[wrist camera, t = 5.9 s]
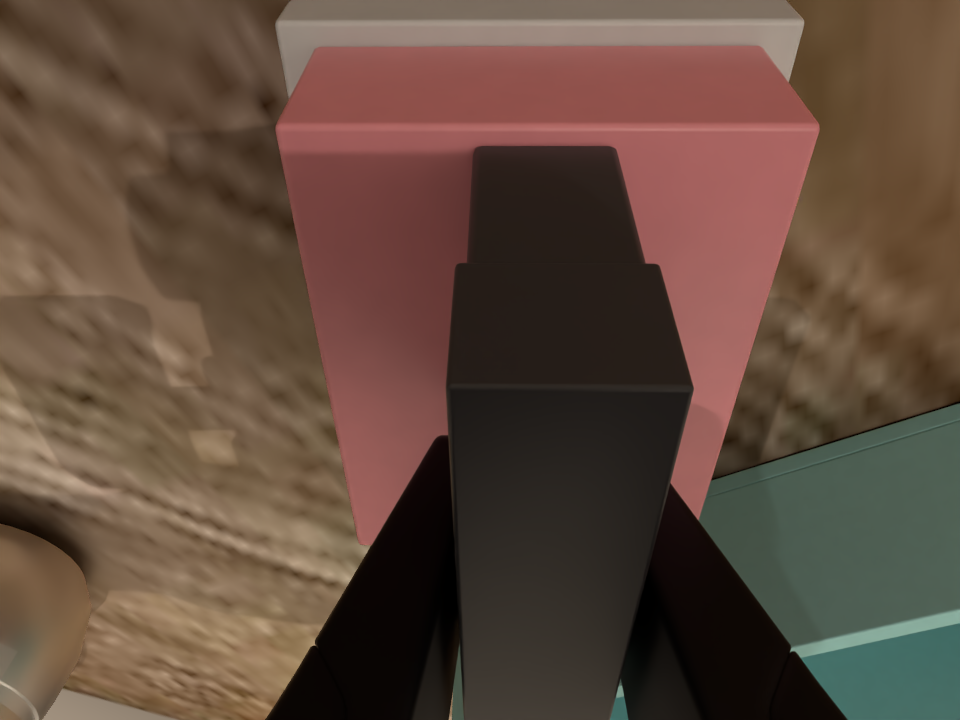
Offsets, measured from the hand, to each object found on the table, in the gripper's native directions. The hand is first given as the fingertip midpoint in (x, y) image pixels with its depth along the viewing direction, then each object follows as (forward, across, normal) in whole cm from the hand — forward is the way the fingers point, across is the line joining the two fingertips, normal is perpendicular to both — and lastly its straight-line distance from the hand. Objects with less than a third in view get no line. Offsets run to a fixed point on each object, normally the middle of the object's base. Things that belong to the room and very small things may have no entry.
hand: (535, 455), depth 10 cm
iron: (+5, 0, +2) cm, 5 cm away
